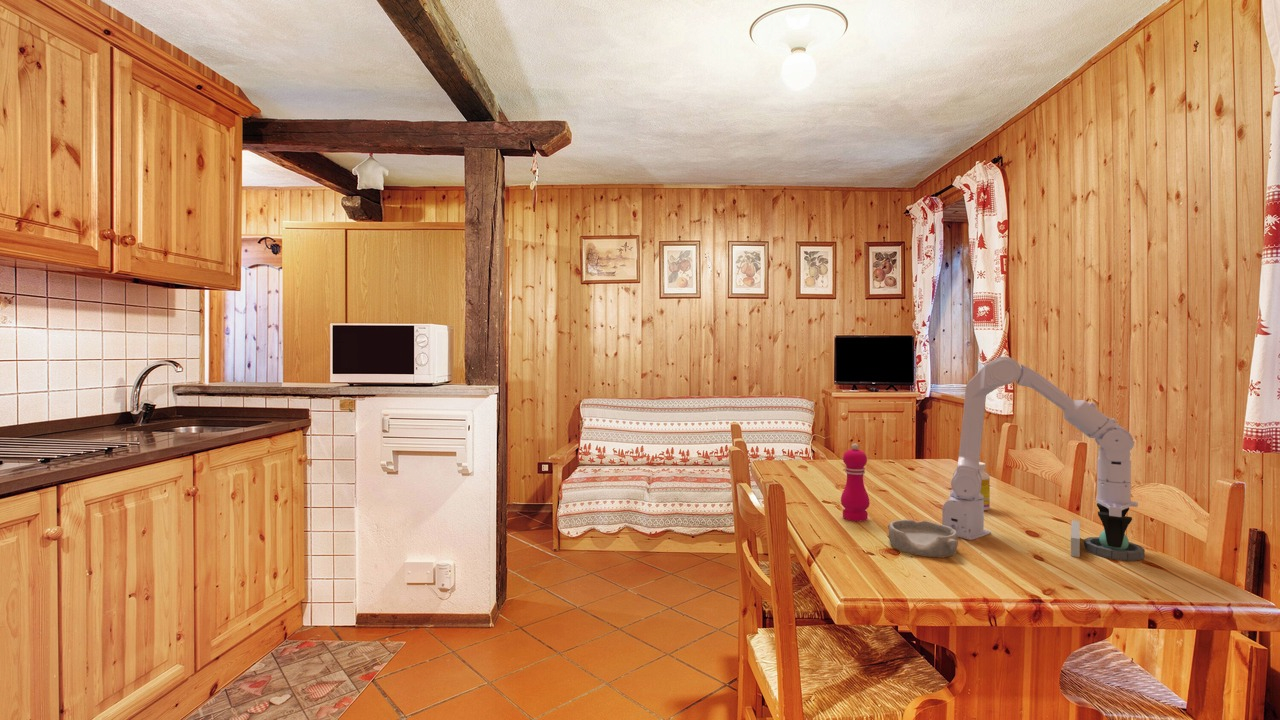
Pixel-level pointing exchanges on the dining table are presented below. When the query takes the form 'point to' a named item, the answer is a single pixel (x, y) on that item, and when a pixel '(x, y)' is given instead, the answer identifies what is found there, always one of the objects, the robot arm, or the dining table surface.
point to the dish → (923, 538)
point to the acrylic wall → (1075, 538)
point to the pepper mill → (855, 486)
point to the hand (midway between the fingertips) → (1113, 541)
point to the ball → (1105, 545)
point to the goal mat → (1130, 554)
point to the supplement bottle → (985, 485)
